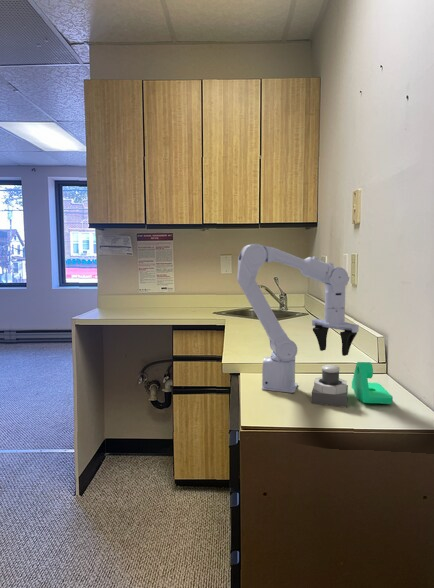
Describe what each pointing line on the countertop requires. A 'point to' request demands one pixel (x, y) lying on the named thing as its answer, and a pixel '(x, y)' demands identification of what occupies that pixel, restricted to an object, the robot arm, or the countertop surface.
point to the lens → (330, 375)
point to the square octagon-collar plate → (330, 393)
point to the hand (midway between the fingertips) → (333, 352)
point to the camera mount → (368, 385)
